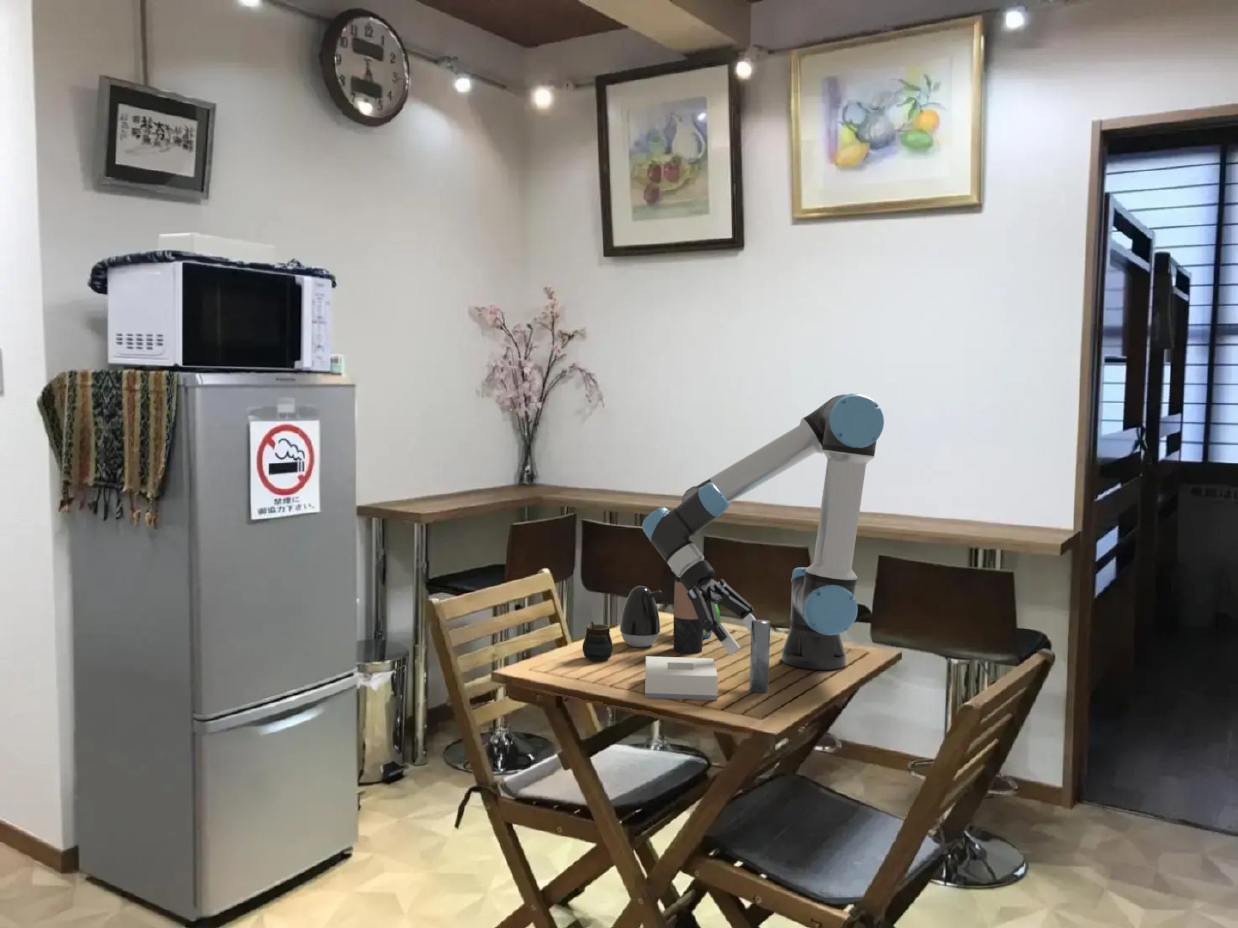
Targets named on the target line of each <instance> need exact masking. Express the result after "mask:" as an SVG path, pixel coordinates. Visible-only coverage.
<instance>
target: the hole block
mask: <svg viewBox="0 0 1238 928" xmlns="http://www.w3.org/2000/svg"><path fill="white" fill-rule="evenodd" d="M644 677H645V679H644V680H645V682H644V685H645V686H644V698H645V699H667V700H668V699H669V700H671V699H673V700H694V701H695V700H698V701H699V700H700V701H718V691H719V690H718V689H719V688H718V686H719V676H718V671H717V667H716V662H715V659H714V658H707V657H705V658H704V657H683V656H681V657H679V656H677V657H674V656H649V655H648V656H647V655H646V656H645V675H644Z"/></svg>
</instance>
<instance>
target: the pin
mask: <svg viewBox="0 0 1238 928" xmlns="http://www.w3.org/2000/svg"><path fill="white" fill-rule="evenodd" d="M750 634H751V635H750V657H749V658H750V661H749V684H748V685H749V687H748V690H749V692H752V693H756V694H765V693H766V694H767V693H768V692H769V678H770V677H769V671H770V646H771V643H770V640H771V621H770V620H767V619H756V620H752V626H751V633H750Z"/></svg>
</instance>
